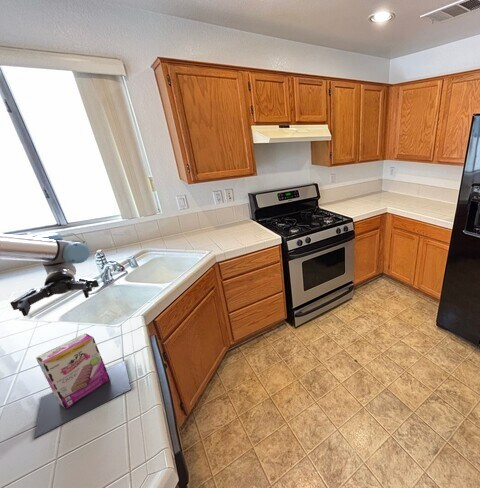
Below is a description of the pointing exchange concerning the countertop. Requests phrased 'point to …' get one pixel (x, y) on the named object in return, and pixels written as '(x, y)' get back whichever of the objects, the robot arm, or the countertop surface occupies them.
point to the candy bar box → (74, 369)
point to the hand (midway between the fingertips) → (56, 302)
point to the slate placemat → (82, 401)
